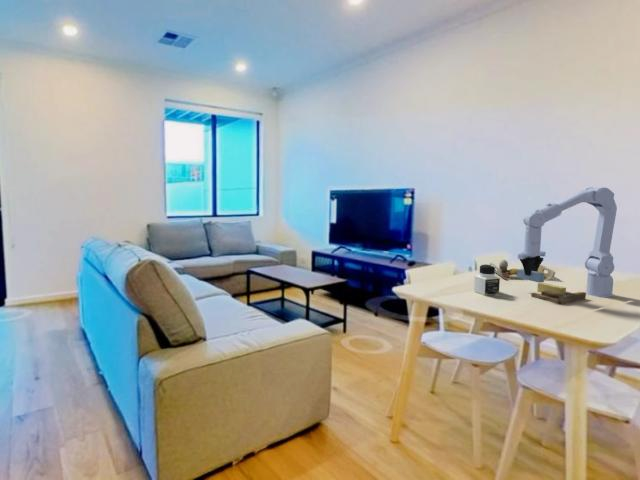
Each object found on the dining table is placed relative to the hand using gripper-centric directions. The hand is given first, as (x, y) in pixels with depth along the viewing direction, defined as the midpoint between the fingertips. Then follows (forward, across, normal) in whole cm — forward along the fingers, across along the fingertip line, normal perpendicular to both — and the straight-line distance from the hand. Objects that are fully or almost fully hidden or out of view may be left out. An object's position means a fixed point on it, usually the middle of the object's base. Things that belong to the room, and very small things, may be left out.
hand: (530, 274), depth 162 cm
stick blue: (+2, 0, 0) cm, 2 cm away
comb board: (+8, -4, +10) cm, 13 cm away
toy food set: (+9, -28, -25) cm, 38 cm away
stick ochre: (+8, -7, +5) cm, 12 cm away
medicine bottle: (+9, +14, -10) cm, 19 cm away
